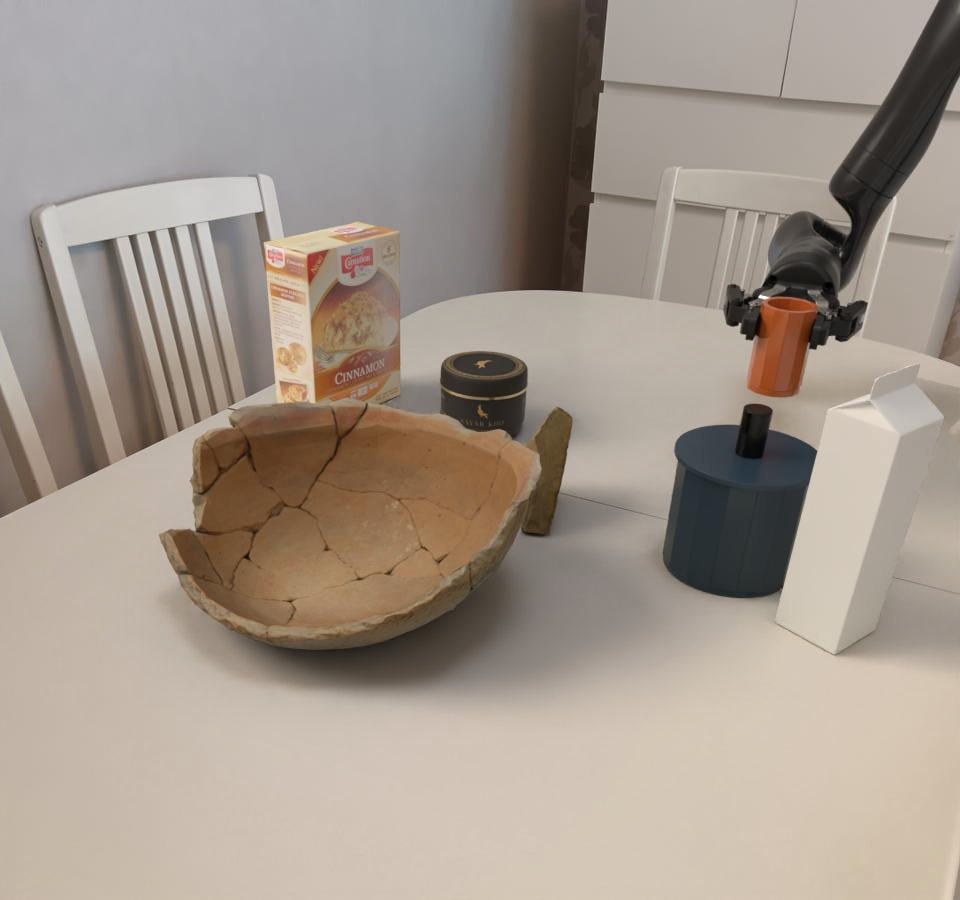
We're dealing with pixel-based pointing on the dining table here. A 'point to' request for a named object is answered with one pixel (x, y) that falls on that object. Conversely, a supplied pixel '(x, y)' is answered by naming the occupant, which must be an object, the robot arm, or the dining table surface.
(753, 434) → the pot lid
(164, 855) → the dining table surface
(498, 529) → the ceramic bowl
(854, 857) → the dining table surface
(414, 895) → the dining table surface
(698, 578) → the pot
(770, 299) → the orange pipe segment
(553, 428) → the rock
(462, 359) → the jar
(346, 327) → the coffeecake box
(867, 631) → the milk
